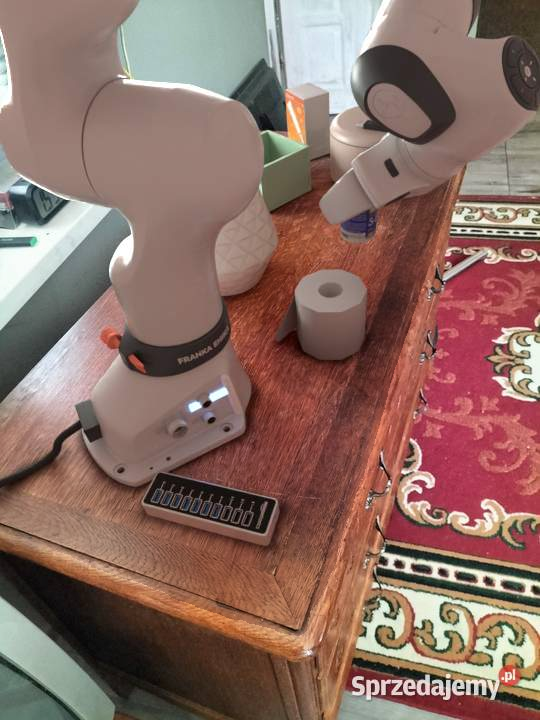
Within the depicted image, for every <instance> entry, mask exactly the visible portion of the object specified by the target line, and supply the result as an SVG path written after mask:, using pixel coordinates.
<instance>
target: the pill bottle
mask: <svg viewBox="0 0 540 720" xmlns="http://www.w3.org/2000/svg"><path fill="white" fill-rule="evenodd" d="M377 221H378V209H376V208H375V207H374V208H371V209H369V210H367V211H365V212H363V213H361V214H359V215H357V216H355V217H353V218H351V219H349V220H347V221H345V222H343V223H341V224H340V231H339V233H340V237H341V238H342V239H343V240H344V241H346V242H348V243H352V244H364V243H368V242H370V241H372V240H374V238H375V237H376V234H377V225H378V223H377Z"/></svg>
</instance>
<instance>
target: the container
mask: <svg viewBox="0 0 540 720" xmlns="http://www.w3.org/2000/svg"><path fill="white" fill-rule="evenodd" d="M358 120H361V121H367V120H371V119H370V118H368V117H367V116H366V115H365V114H364V113H363V111H362V110H361V109H360V107H359V106H358V105H356V106H353V107H350V108H348V109H345V110H343V111H341V112H339V113H338V114H337V115H335V117H334V118H333V119H332V121H331V122H330V129H329V131H330V153H329V156H330V157H329V163H330V165H329V167H330V168H329V171H330V174H329V175H330V178H331V179H332V181H333V182H334V184H335V183H336V182H337V181H338V180H339V179H340V178H341V177H342V176H343V175H344V174H346V173H347V172H348V171H349V170H350V169H352V165H351V162H352V161H353V160H354V159H355V158H356V157H357V156H358V155H360V154H361V153H362V152H364V151H365V150H367V149H368V148H370V147H371V146H373V145H374V144H376V143H377V142H379V141H380V140H381V139H382V138H383V137H384V136H385V135H386V134H387V133H388V132H383V131H375V130H368V129H363V127H361V126H356V122H357V121H358Z"/></svg>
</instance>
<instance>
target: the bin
mask: <svg viewBox="0 0 540 720" xmlns="http://www.w3.org/2000/svg"><path fill="white" fill-rule="evenodd" d="M260 134H261V137H262V141H263V147H264V170H263V175H262V179H261V183H260V186H259V189H260V191H261V194H262V196H263V198H264V201H265V203H266V206H267V208H268V210H269V213H270V212H272V211H274V210H275V209H277V208H279V207H281V206H283V205H285V204H287V203H289V202H291V201H293V200H295V199H296V198H299V197H300V196H302V195H304V194H306V193H308V192H310V191H312V171H311V160H310V146H308V145H306V144H303V143H300V142H298V141H295V140H293V139H290V138H288V136H286V135H283V134H280V133H277V132H275V131H272V130H269V129H266V130H264V131H262V132H260Z"/></svg>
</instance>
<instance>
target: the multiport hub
mask: <svg viewBox="0 0 540 720" xmlns="http://www.w3.org/2000/svg"><path fill="white" fill-rule="evenodd" d="M141 505H142V508H143V509H144V511H145V513H146V515H148V516H149V517H153V518H156V519H161V520H165V521H169V522H172V523H176V524H180V525H184V526H188V527H191V528H194V529H199V530H202V531H205V532H206V531H207V532H210V533H214V534H217V535H222V536H225V537H229V538H232V539H237V540H239V541H245V542H247V543H251V544H254V545H258V546H259V545H260V546H263V547H267V546H269V545H270V544H271V542H272V541H271V540H272V539H273V538H272V537H273V535H274V532H275V529H276V525H277V522H278V519H279V516H280V511H281V510H280V506H279V500H278V499H277V498H275V497H271V496H267V495H262V494H260V493H259V494H258V493H255V492H249V491H245V490H241V489H238V488H234V487H230V486H229V487H228V486H225V485H220V484H216V483H212V482H208V481H204V480H199V479H196V478H192V477H188V476H183V475H178V474H174V473H170V472H167V473H166V472H162V471H159V472H157V473H156V475H155V477H154V479H153V480H151V481H150V483H149V486H148V488H147V489H146V492H145V494H144V496H143V497H142V500H141Z"/></svg>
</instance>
